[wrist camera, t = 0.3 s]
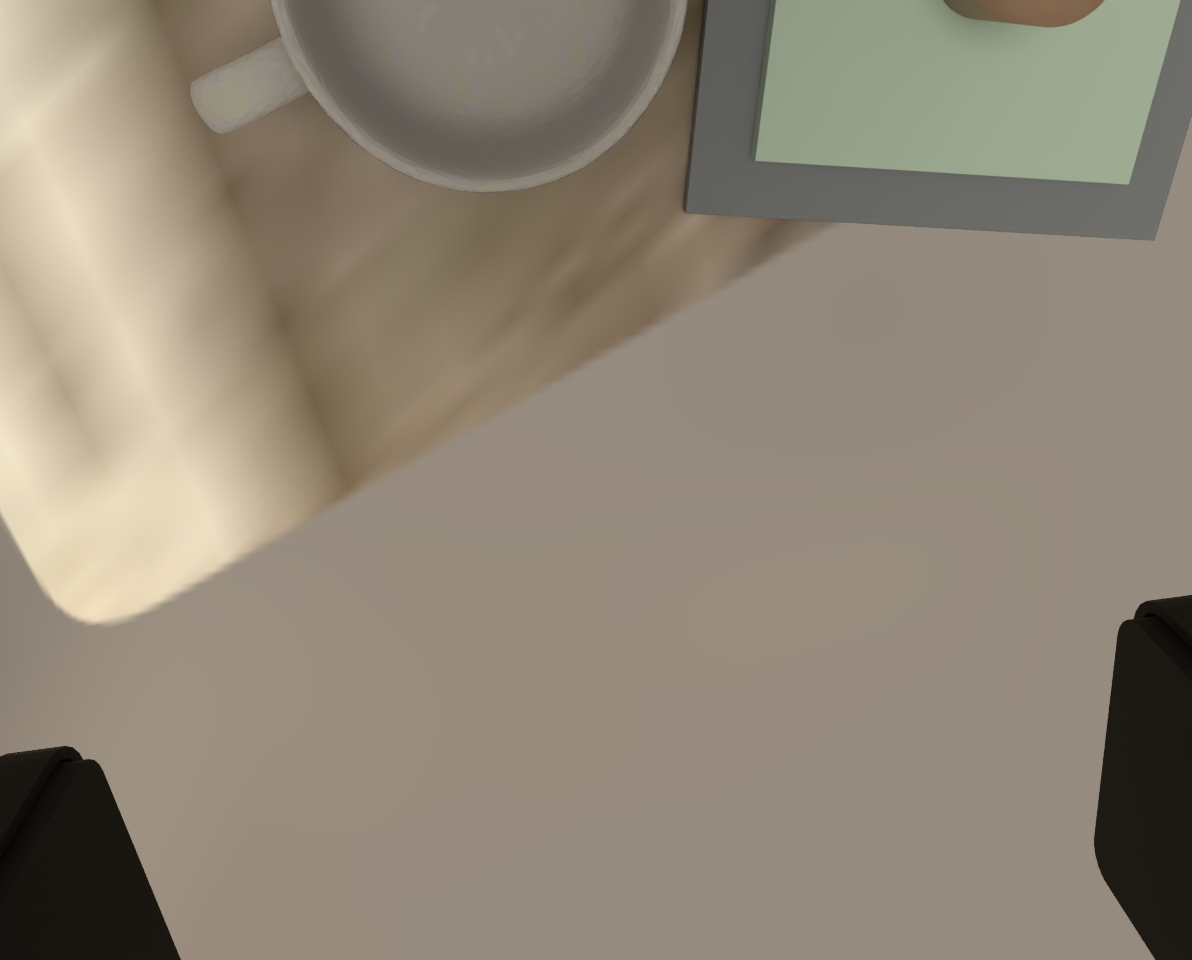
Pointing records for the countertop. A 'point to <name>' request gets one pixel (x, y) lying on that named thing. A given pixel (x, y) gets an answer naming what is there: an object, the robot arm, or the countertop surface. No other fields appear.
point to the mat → (912, 197)
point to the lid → (962, 85)
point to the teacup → (459, 81)
